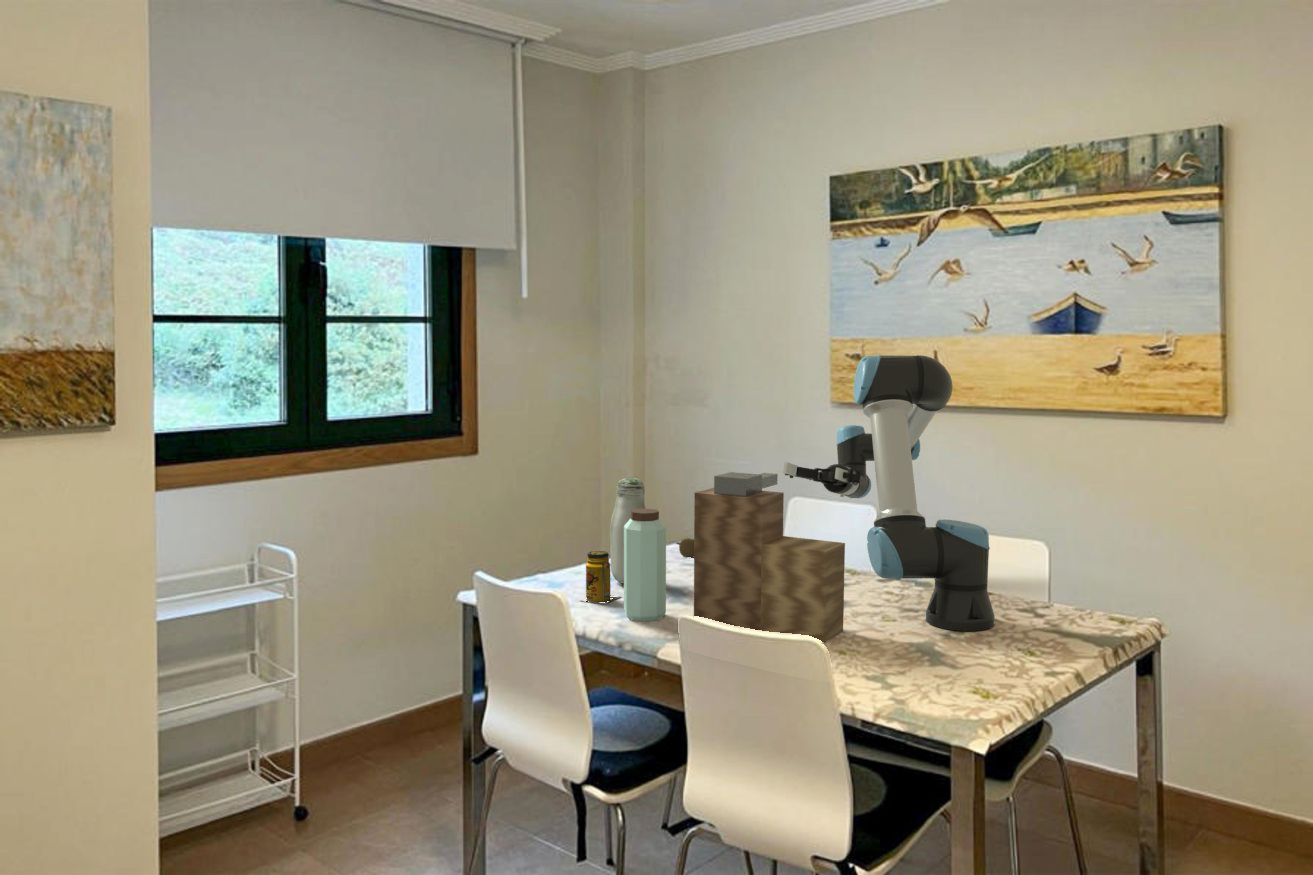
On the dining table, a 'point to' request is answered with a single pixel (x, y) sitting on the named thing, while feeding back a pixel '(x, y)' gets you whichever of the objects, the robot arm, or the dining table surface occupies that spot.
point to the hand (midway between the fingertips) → (810, 470)
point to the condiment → (598, 577)
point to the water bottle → (644, 566)
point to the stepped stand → (764, 568)
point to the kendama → (686, 547)
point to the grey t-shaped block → (743, 483)
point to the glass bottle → (623, 520)
